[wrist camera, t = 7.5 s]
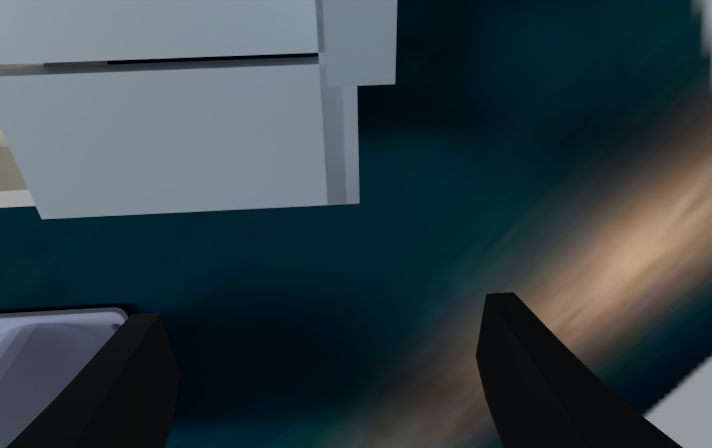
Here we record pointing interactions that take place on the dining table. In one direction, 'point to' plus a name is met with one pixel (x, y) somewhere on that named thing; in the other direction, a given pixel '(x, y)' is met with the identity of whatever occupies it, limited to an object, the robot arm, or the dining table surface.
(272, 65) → the lid
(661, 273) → the dining table surface
